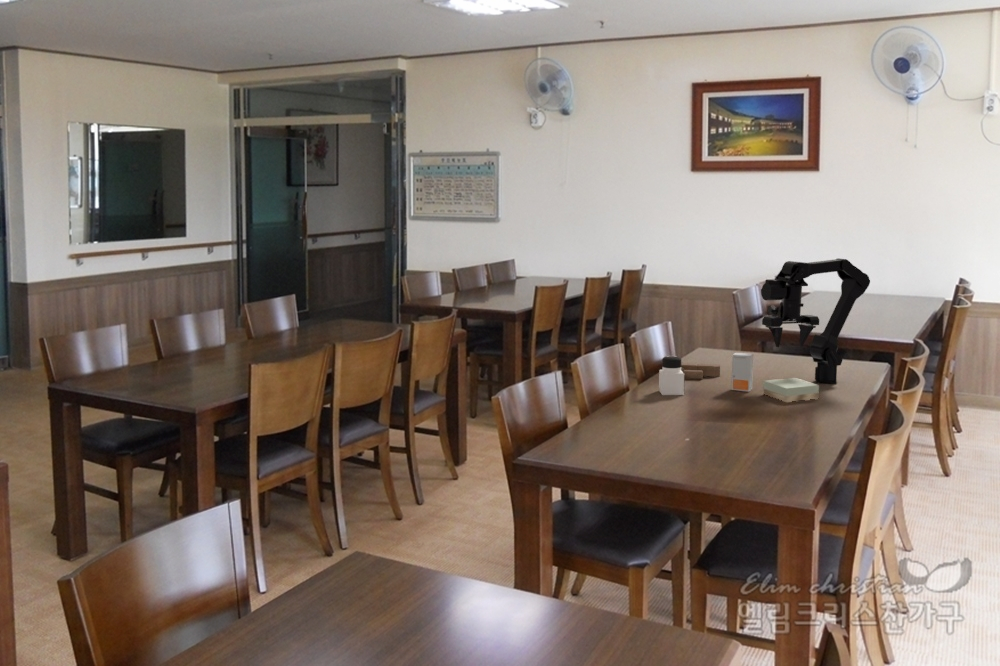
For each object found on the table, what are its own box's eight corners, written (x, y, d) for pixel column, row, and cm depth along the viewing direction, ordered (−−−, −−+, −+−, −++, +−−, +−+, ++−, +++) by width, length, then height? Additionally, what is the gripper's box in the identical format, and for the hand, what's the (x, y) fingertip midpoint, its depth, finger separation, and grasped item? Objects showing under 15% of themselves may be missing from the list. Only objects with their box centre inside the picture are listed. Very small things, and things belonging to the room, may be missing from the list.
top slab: (794, 385, 305) (794, 377, 305) (818, 392, 294) (818, 385, 293) (763, 388, 301) (763, 380, 301) (786, 396, 290) (786, 388, 289)
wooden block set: (668, 359, 336) (720, 360, 332) (668, 374, 336) (719, 376, 333) (666, 368, 319) (720, 370, 315) (665, 384, 320) (720, 386, 316)
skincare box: (730, 390, 308) (731, 354, 306) (734, 387, 311) (735, 352, 309) (749, 392, 305) (750, 355, 303) (752, 389, 309) (753, 353, 307)
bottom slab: (795, 392, 305) (795, 385, 305) (818, 400, 294) (819, 392, 294) (763, 396, 301) (763, 388, 301) (786, 404, 290) (786, 396, 290)
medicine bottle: (684, 395, 302) (685, 358, 300) (662, 395, 302) (662, 358, 300) (680, 390, 309) (681, 354, 307) (658, 390, 309) (659, 354, 307)
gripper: (800, 296, 320) (797, 341, 323) (753, 297, 314) (751, 343, 317) (821, 300, 310) (818, 346, 312) (773, 301, 304) (770, 349, 306)
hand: (789, 346), depth 312 cm, fingers open, 9 cm apart
